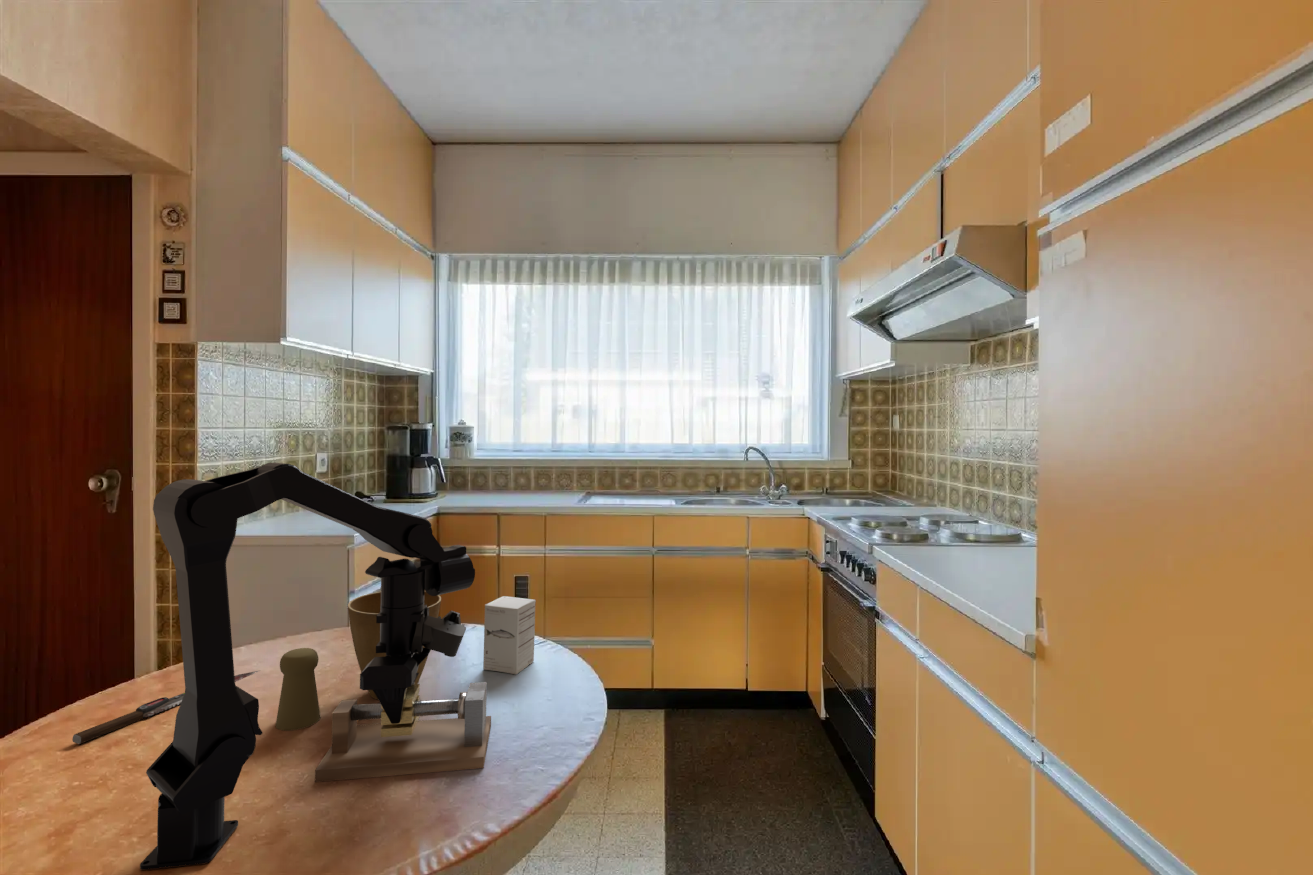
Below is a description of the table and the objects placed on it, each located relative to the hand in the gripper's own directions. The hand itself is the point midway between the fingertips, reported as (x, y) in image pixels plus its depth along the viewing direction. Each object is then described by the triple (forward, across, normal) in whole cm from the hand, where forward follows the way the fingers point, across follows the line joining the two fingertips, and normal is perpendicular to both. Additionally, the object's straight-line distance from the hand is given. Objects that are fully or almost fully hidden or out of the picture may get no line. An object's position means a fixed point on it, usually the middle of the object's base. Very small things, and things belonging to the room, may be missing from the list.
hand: (400, 713), depth 85 cm
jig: (+6, 0, -2) cm, 6 cm away
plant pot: (+6, +21, +6) cm, 22 cm away
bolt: (+4, 0, -2) cm, 5 cm away
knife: (+6, +22, +39) cm, 45 cm away
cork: (+6, +12, +18) cm, 22 cm away
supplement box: (+6, +30, -14) cm, 33 cm away
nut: (+2, 0, 0) cm, 2 cm away
